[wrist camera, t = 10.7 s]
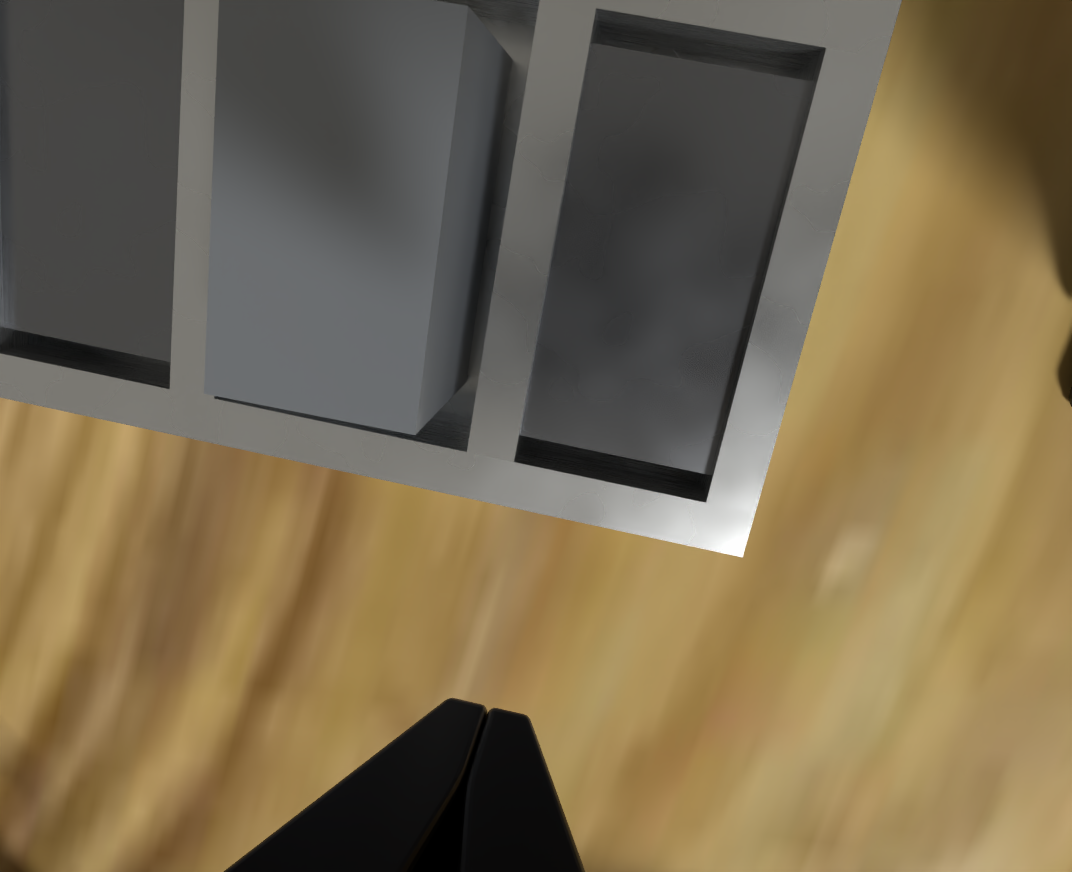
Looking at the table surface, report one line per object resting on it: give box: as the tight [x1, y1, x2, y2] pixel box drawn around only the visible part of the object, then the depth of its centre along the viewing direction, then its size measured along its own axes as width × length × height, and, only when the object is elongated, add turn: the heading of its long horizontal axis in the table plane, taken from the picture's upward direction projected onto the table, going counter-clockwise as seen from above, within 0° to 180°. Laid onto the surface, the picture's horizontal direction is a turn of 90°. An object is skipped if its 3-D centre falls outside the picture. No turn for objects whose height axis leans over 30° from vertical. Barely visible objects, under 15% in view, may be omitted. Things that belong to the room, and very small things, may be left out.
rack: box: [0, 0, 902, 557], centre depth 17 cm, size 18×11×4 cm, turn 79°
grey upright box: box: [204, 0, 512, 435], centre depth 15 cm, size 4×7×4 cm, turn 170°
